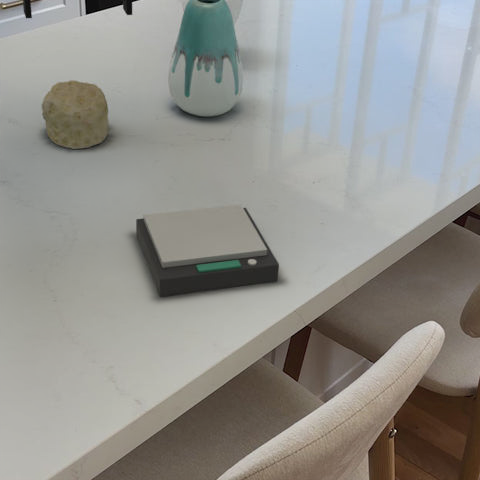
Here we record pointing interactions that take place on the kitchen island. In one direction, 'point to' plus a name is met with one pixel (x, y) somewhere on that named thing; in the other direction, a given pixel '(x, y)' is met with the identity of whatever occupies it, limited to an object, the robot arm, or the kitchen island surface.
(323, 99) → the kitchen island surface
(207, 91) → the vase
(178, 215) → the scale
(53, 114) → the beige textured cylinder
